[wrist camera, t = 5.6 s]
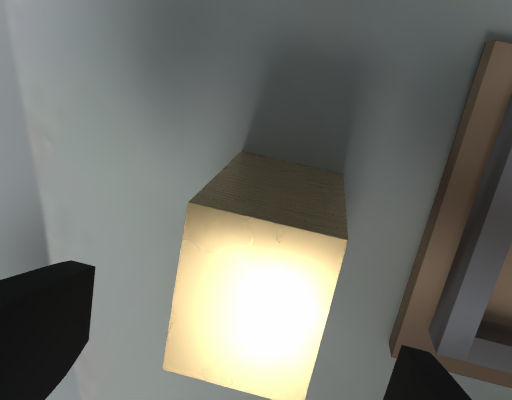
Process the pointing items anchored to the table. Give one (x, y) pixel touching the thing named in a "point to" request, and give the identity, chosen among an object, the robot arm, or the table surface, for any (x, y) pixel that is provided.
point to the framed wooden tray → (469, 241)
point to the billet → (257, 276)
